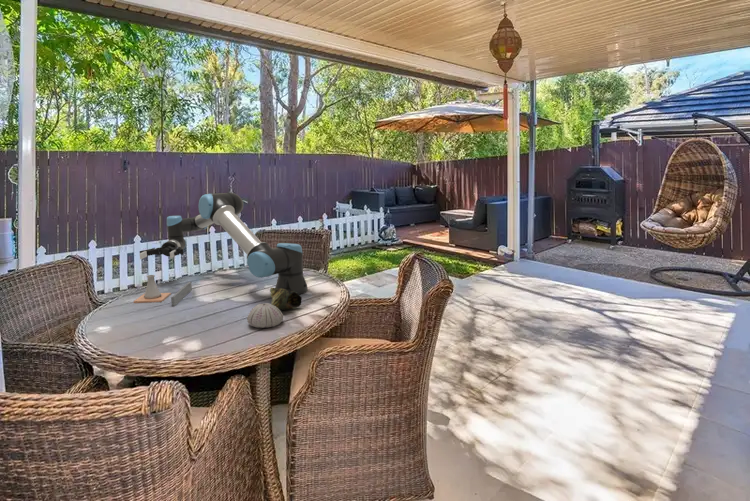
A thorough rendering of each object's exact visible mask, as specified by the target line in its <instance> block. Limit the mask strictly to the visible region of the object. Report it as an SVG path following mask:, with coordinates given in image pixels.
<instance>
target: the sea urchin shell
mask: <svg viewBox="0 0 750 501" xmlns="http://www.w3.org/2000/svg"><path fill="white" fill-rule="evenodd" d="M246 320H247V321H246V322H247V323H248V325H250V326H251V327H255V328H259V329H260V328H261V329H262V328H263V329H264V328H267V329H268V328H271V327H272V328H273V327H276V326H279V325H280V324H281V323H282V322H283V320H284V315H283V313H282V310H279V309H278V308H277V307H276V306H274V305H272V304H271V303H269V302H266V303H258V304H257V305H255V306H254V307H253V308H252V309H251V310H250V311H249V313H248V315H247V317H246Z"/></svg>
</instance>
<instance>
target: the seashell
mask: <svg viewBox="0 0 750 501" xmlns="http://www.w3.org/2000/svg"><path fill="white" fill-rule="evenodd" d="M269 290H270V291H269V293H270V297H271V301H270V304H272V305H274V306H276V307H277V308H278V309H279V310H280V311H287V310H296V309H297V308H299V307H300V306H301V305H302V303H303V302H302V296H301V294H298V293H297V292H295V291H292V292H288V291H287V290H286V289H278V288H275V287H270V288H269Z"/></svg>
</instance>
